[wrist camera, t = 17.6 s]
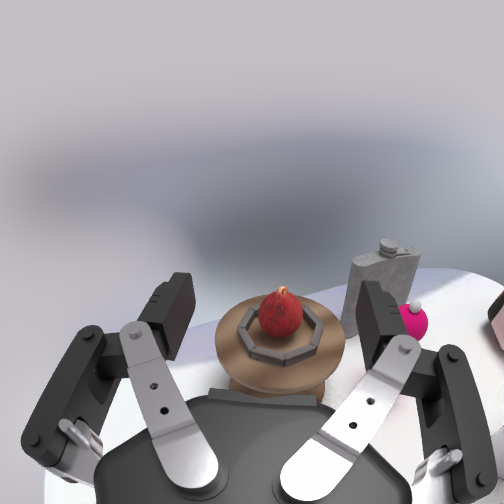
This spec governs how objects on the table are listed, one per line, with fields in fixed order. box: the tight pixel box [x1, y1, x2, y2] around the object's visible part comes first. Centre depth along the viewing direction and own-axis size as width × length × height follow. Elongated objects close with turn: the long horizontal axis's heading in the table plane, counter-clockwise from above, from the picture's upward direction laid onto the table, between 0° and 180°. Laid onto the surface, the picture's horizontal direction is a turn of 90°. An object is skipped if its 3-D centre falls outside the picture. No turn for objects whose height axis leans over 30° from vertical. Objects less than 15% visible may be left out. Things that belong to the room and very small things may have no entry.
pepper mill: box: [398, 300, 428, 341], centre depth 39 cm, size 7×7×20 cm
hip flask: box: [340, 239, 421, 339], centre depth 54 cm, size 16×4×20 cm, turn 103°
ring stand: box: [215, 295, 345, 403], centre depth 42 cm, size 18×18×16 cm
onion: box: [258, 286, 303, 338], centre depth 37 cm, size 6×6×8 cm
